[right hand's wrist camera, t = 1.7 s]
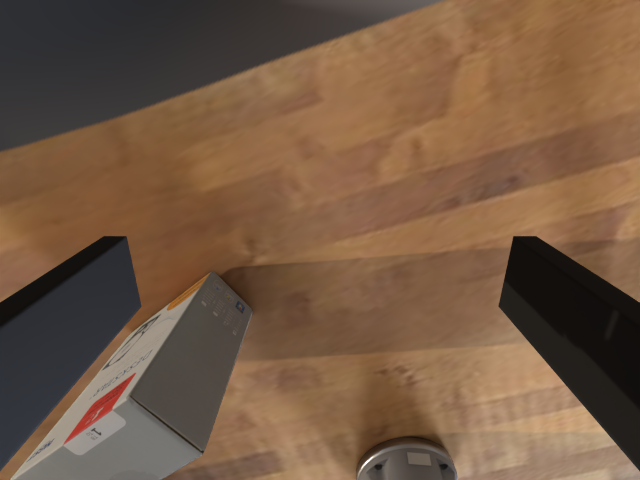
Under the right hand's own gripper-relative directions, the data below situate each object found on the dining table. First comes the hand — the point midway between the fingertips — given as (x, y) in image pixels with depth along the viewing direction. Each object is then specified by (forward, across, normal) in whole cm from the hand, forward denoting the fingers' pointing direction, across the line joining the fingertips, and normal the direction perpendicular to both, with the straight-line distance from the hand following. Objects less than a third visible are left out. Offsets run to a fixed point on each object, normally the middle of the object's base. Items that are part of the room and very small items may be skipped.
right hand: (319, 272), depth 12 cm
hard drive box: (+28, +17, +21) cm, 39 cm away
